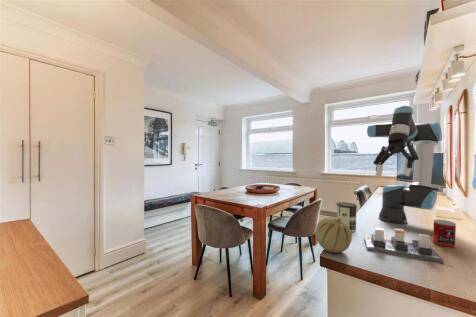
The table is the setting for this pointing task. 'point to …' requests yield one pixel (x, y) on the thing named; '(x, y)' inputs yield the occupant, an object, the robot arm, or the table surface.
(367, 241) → the panel
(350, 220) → the coffee can
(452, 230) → the canned food
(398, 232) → the handle
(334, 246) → the cantaloupe
